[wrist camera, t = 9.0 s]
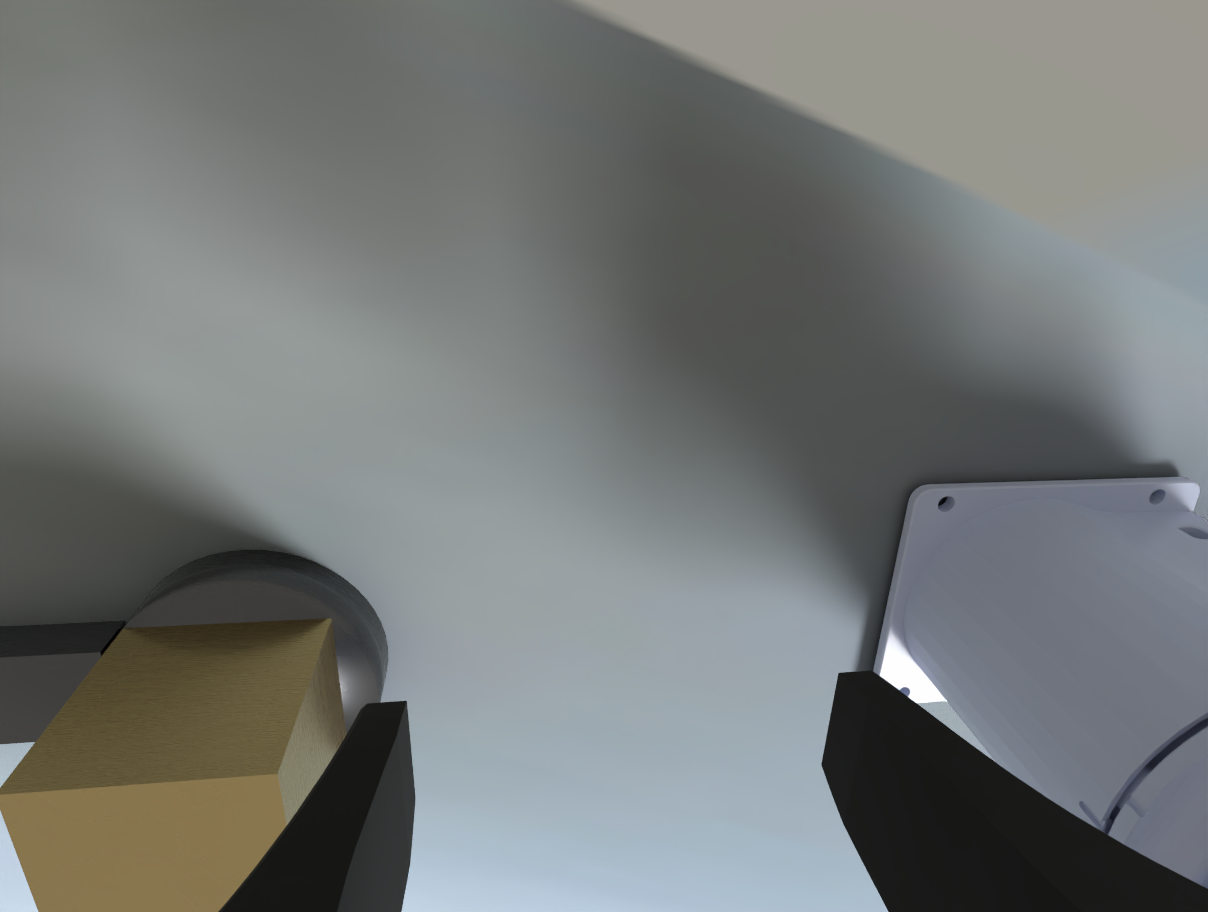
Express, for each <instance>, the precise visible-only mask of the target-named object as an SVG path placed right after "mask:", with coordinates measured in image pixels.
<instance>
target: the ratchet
mask: <svg viewBox="0 0 1208 912" xmlns="http://www.w3.org/2000/svg"><path fill="white" fill-rule="evenodd" d="M324 618H332V626H333V633H334V641H335V649H336V657H337V665H338V672H339V680H340V688H341V696H342V704H343V711H344V719H345V727H346V735H347V733H348V731H349V729H350V728H351V726H352V724H353V722H354V721H355V719H356V717H357V715H358V713H359V711H360V710H361V709H362V708H363V707H364V706H365V705H366V704H367V703H380V701H381V696H382V691H383V686H384V681H385V677H386V671H387V665H388V646H387V641H386V635H385V632H384V629H383V627H382V624H381V622H380V620H379V618H378V616H377V614H376V612H375V610H374V609H373V608H372V606H371V605H370V604H369V602H368V601H367V599H366V598H365V597H364V596H363V595H362V594H361V593H360V592H359V591H358V590H357V589H356V588H355V587H354V586H353V585H351V584H350V583H349V582H348V581H346V580H345V579H344V578H342V577H341V576H339V575H338V574H336V573H335V572H333V571H331V570H330V569H328V568H326V567H323V566H321V565H319V564H317V563H315V562H313V561H310V560H307V559H304V558H301V557H298V556H294V555H290V554H286V553H281V552H274V551H266V550H240V551H229V552H224V553H219V554H214V555H210V556H207V557H204V558H201V559H198V560H195V561H193V562H191V563H189V564H187V565H185V566H183V567H181V568H179V569H178V570H176V571H175V572H173V573H172V574H170V575H169V576H167V577H166V578H165V579H164V580H163V581H162V582H160V583H159V584H158V585H157V586H156V587H155V588H154V590H153V591H152V592H151V593H150V594H149V596H148V597H147V598H146V599H145V601H144V602H143V603H142V605H141V606H140V607H139V609H138V610H137V611H136V612H135V614H134V615H133V616H132V618H131V619H130V620H129V622H128V623H127V624H125V621H111V622H90V623H70V624H49V625H28V626H7V627H0V744H10V743H25V742H36V741H37V740H38V738H39V737H40V736H41V734H42V733H43V732H44V731H45V729H46V728H47V727H48V725H49V724H50V723H51V721H52V720H53V719H54V718H55V716H56V715H57V714H58V712H59V711H60V710H61V708H62V707H63V706H64V705H65V703H66V702H67V701H68V699H69V698H70V697H71V695H72V694H73V693H74V692H75V690H76V689H77V688H78V686H79V685H80V684H81V682H82V681H83V680H84V679H85V677H86V676H87V675H88V673H89V672H90V671H91V669H92V668H93V667H94V666H95V664H96V663H97V662H98V660H99V659H100V658H101V656H102V655H103V654H104V653H105V651H106V650H107V649H108V647H109V646H110V645H111V643H112V642H113V641H114V640H115V638H116V637H117V636H118V634H119V633H120V632H121V630H122V629H123V628H138V627H159V626H179V625H200V624H221V623H241V622H262V621H283V620H303V619H324Z"/></svg>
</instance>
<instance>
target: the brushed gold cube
mask: <svg viewBox="0 0 1208 912" xmlns="http://www.w3.org/2000/svg"><path fill="white" fill-rule="evenodd" d="M345 736H346V727H345V719H344V711H343V704H342V696H341V688H340V680H339V672H338V665H337V657H336V649H335V641H334V633H333V626H332V618H324V619H303V620H283V621H262V622H241V623H221V624H200V625H179V626H159V627H138V628H123V629H122V630H121V632H120V633H119V634H118V636H117V637H116V638H115V640H114V641H113V642H112V643H111V645H110V646H109V647H108V649H107V650H106V651H105V653H104V654H103V655H102V656H101V658H100V659H99V660H98V662H97V663H96V664H95V666H94V667H93V668H92V669H91V671H90V672H89V673H88V675H87V676H86V677H85V679H84V680H83V681H82V682H81V684H80V685H79V686H78V688H77V689H76V690H75V692H74V693H73V694H72V695H71V697H70V698H69V699H68V701H67V702H66V703H65V705H64V706H63V707H62V708H61V710H60V711H59V712H58V714H57V715H56V716H55V718H54V719H53V720H52V721H51V723H50V724H49V725H48V727H47V728H46V729H45V731H44V732H43V733H42V734H41V736H40V737H39V738H38V740H37V741H36V742H35V744H34V745H33V746H32V747H31V749H30V750H29V751H28V753H27V754H26V755H25V757H24V758H23V759H22V760H21V762H20V763H19V764H18V766H17V767H16V768H15V770H14V771H13V772H12V773H11V775H10V776H9V777H8V779H7V780H6V781H5V783H4V784H3V785H2V786H1V788H0V810H1V813H2V816H3V818H4V821H5V824H6V826H7V829H8V832H9V834H10V837H11V840H12V842H13V845H14V848H15V850H16V853H17V856H18V858H19V861H20V864H21V866H22V869H23V872H24V874H25V877H26V880H27V882H28V885H29V887H30V890H31V893H32V895H33V898H34V901H35V903H36V906H37V909H38V911H39V912H218V911H219V910H220V909H221V908H222V907H223V906H224V905H225V903H226V902H227V901H228V900H229V899H230V897H231V896H232V895H233V894H234V893H235V891H236V890H237V889H238V888H239V887H240V885H241V884H242V883H243V882H244V880H245V879H246V878H247V877H248V876H249V874H250V873H251V872H252V871H253V869H254V868H255V867H256V865H257V864H258V863H259V862H260V860H261V859H262V858H263V856H264V855H265V854H266V852H267V851H268V850H269V848H270V847H271V846H272V844H273V843H274V842H275V840H276V839H277V838H278V836H279V835H280V834H281V832H282V831H283V830H284V828H285V827H286V826H287V824H288V823H289V822H290V820H291V819H292V818H293V816H294V815H295V813H296V812H297V811H298V809H299V808H300V806H301V805H302V803H303V802H304V800H305V799H306V797H307V796H308V794H309V793H310V791H311V790H312V788H313V787H314V785H315V784H316V782H317V781H318V780H319V778H320V777H321V775H322V774H323V772H324V770H325V769H326V767H327V766H328V764H329V763H330V761H331V759H332V758H333V756H334V755H335V753H336V751H337V750H338V748H339V746H340V745H341V743H342V741H343V740H344V738H345Z"/></svg>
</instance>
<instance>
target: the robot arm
mask: <svg viewBox="0 0 1208 912" xmlns="http://www.w3.org/2000/svg"><path fill="white" fill-rule="evenodd" d="M1154 491H1155V492H1154ZM1153 492H1154V493H1153ZM1152 493H1153V495H1152V496H1151V494H1152ZM1199 493H1200V488H1199V485H1198V484H1197V483H1196V482H1195V481H1193V480H1191V479H1189V478H1186V477H1157V478H1123V479H1090V480H1056V481H1023V482H990V483H956V484H927V485H922V486H920V487H918V488H917V489H915V490H914V492H913V493H912V494H911V496H910V498H909V501H908V506H907V511H906V516H905V520H904V525H903V530H902V535H901V540H900V544H899V549H898V554H897V559H896V564H895V568H894V573H893V578H892V583H891V588H890V592H889V597H888V602H887V607H886V612H885V616H884V621H883V626H882V631H881V635H880V640H879V645H878V650H877V655H876V659H875V664H874V669H873V671H861V672H845V673H839V674H838V679H837V684H836V690H835V695H834V700H833V706H832V711H831V717H830V722H829V727H828V733H827V738H826V743H825V749H824V754H823V759H822V768H823V770H824V773H825V776H826V779H827V782H828V784H829V787H830V790H831V793H832V796H833V798H834V801H835V803H836V806H837V809H838V811H839V814H840V816H841V819H842V821H843V824H844V826H845V828H846V830H847V832H848V834H849V836H850V838H851V840H852V842H853V844H854V846H855V848H856V850H857V852H858V854H859V856H860V858H861V860H862V861H863V863H864V865H865V867H866V869H867V871H868V873H869V875H870V877H871V879H872V881H873V883H874V885H875V887H876V888H877V890H878V892H879V894H880V896H881V898H882V900H883V902H884V904H885V906H886V908H887V910H888V911H889V912H1208V520H1206V519H1204V518H1202V517H1200V516H1199V515H1197V514H1195V513H1193V510H1194V507H1195V505H1196V502H1197V499H1198V497H1199ZM946 496H947V500H946V502H945V503H944V504H942V505H940V506H938V503H939V501H940V500H941V499H942V498H943V497H946ZM1150 496H1151V497H1150ZM902 687H903V688H902ZM900 688H902V689H901V690H898V689H900ZM938 701H947V702H948V703H949V705H950V706H951V707H952V708H953V710H954V711H955V712H956V713H957V715H958V716H959V717H960V718H961V720H962V721H963V722H964V723H965V724H966V726H967V727H968V728H969V729H970V731H971V732H972V733H973V734H974V736H975V737H976V738H977V739H978V741H979V742H980V743H981V744H982V746H983V747H984V748H985V749H986V751H987V752H988V753H989V754H990V756H991V757H992V758H993V759H994V760H995V762H994V761H993V760H992V759H990V758H989V757H987V756H986V755H985V754H983V753H982V752H980V751H979V750H978V749H976V748H975V747H974V746H972V745H971V744H970V743H968V742H967V741H966V740H964V739H963V738H961V737H960V736H959V735H957V734H956V733H955V732H954V731H952V730H951V729H950V728H948V727H947V726H946V725H944V724H943V723H942V722H940V721H939V720H938V719H936V718H935V717H934V716H932V715H931V714H930V713H928V712H927V711H926V710H925V709H923V708H922V707H921V706H919V705H918V704H917V703H925V702H938ZM414 810H415V788H414V777H413V766H412V755H411V744H410V733H409V722H408V710H407V701H398V702H383V703H367V704H366V705H365V706H364V707H363V708H362V709H361V710H360V711H359V713H358V715H357V717H356V719H355V721H354V722H353V724H352V726H351V728H350V729H349V731H348V733H347V735H346V736H345V738H344V740H343V741H342V743H341V745H340V746H339V748H338V750H337V751H336V753H335V755H334V756H333V758H332V759H331V761H330V763H329V764H328V766H327V767H326V769H325V770H324V772H323V774H322V775H321V777H320V778H319V780H318V781H317V782H316V784H315V785H314V787H313V788H312V790H311V791H310V793H309V794H308V796H307V797H306V799H305V800H304V802H303V803H302V805H301V806H300V808H299V809H298V811H297V812H296V813H295V815H294V816H293V818H292V819H291V820H290V822H289V823H288V824H287V826H286V827H285V828H284V830H283V831H282V832H281V834H280V835H279V836H278V838H277V839H276V840H275V842H274V843H273V844H272V846H271V847H270V848H269V850H268V851H267V852H266V854H265V855H264V856H263V858H262V859H261V860H260V862H259V863H258V864H257V865H256V867H255V868H254V869H253V871H252V872H251V873H250V874H249V876H248V877H247V878H246V879H245V880H244V882H243V883H242V884H241V885H240V887H239V888H238V889H237V890H236V891H235V893H234V894H233V895H232V896H231V897H230V899H229V900H228V901H227V902H226V903H225V905H224V906H223V907H222V908H221V909H220V910H219V911H218V912H401V910H402V905H403V899H404V894H405V889H406V883H407V878H408V872H409V867H410V858H411V847H412V835H413V823H414Z"/></svg>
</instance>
